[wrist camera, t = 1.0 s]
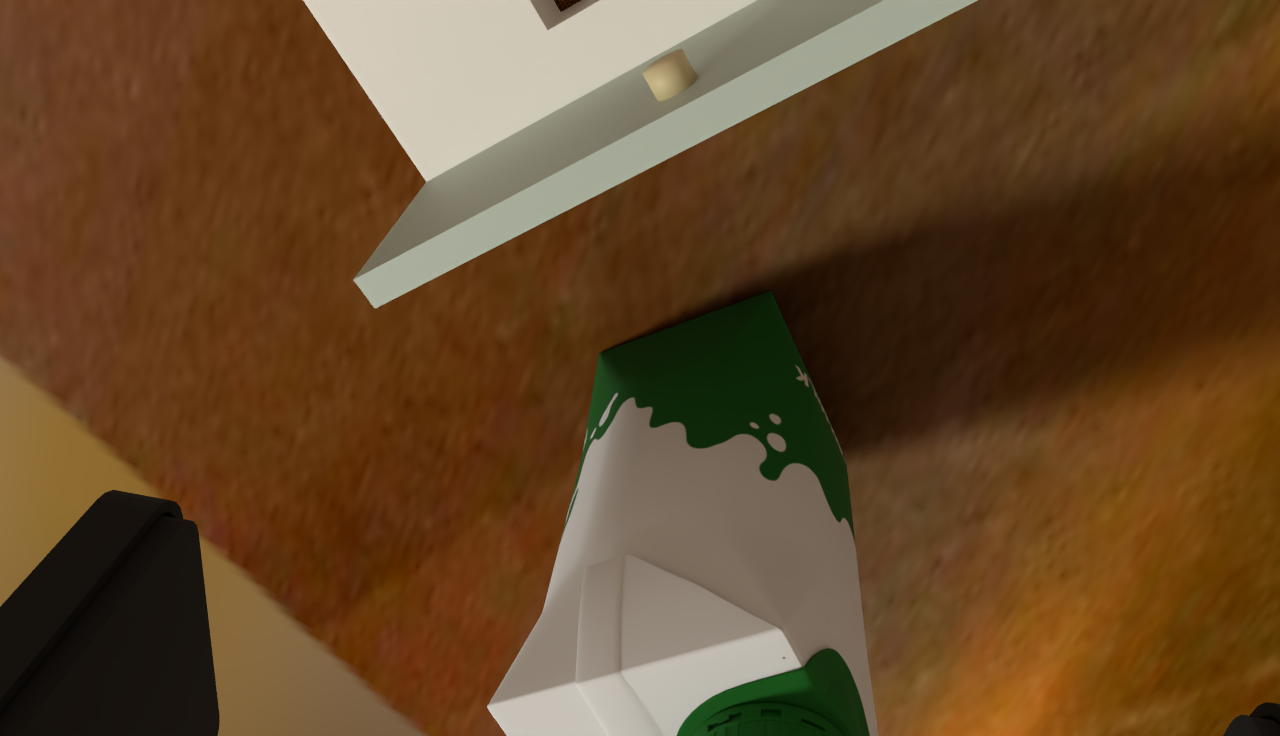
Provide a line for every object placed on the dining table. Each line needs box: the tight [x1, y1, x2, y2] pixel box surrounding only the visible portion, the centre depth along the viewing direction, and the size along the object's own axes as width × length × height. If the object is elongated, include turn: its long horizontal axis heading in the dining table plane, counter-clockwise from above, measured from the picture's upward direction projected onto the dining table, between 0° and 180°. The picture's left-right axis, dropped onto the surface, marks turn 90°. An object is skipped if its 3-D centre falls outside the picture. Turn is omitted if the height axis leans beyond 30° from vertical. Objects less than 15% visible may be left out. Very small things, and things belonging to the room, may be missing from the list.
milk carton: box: [487, 291, 879, 736], centre depth 34 cm, size 9×9×20 cm
